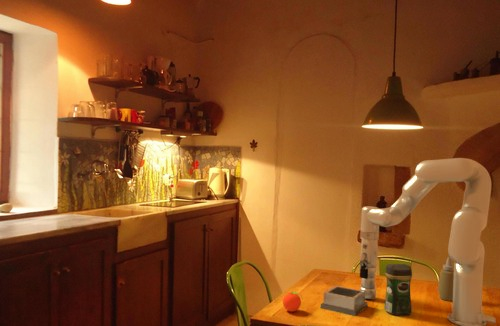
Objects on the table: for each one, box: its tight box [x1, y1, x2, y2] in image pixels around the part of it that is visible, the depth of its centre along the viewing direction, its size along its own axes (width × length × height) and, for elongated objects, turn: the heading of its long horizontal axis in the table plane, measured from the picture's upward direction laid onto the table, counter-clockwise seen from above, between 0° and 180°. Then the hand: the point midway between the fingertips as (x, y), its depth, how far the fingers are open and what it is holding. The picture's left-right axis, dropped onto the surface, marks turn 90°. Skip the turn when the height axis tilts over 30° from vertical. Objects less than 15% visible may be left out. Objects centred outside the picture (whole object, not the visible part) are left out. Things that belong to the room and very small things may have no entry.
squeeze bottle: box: [437, 256, 454, 302], centre depth 182 cm, size 8×8×18 cm
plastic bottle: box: [359, 261, 378, 300], centre depth 179 cm, size 6×7×20 cm
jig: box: [320, 285, 368, 317], centre depth 167 cm, size 14×14×6 cm
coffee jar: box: [384, 263, 413, 316], centre depth 163 cm, size 10×8×19 cm
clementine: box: [282, 292, 303, 313], centre depth 161 cm, size 8×7×7 cm
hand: (367, 275), depth 180 cm, fingers open, 9 cm apart
